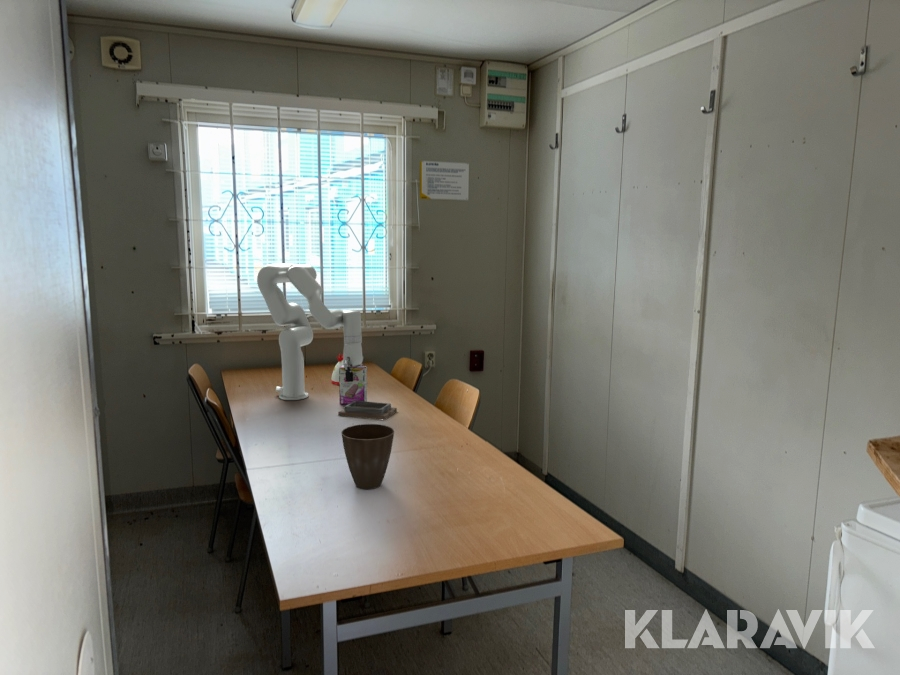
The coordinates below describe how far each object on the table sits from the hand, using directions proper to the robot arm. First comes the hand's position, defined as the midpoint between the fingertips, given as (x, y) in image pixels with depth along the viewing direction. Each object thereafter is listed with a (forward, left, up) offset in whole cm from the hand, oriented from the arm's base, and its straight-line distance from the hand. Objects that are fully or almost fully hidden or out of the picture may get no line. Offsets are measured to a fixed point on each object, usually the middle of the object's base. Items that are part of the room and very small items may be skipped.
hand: (354, 379), depth 264 cm
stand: (+11, -12, -11) cm, 20 cm away
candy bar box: (-1, 0, -11) cm, 11 cm away
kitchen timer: (-22, +36, -11) cm, 44 cm away
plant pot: (+41, -80, -11) cm, 91 cm away
